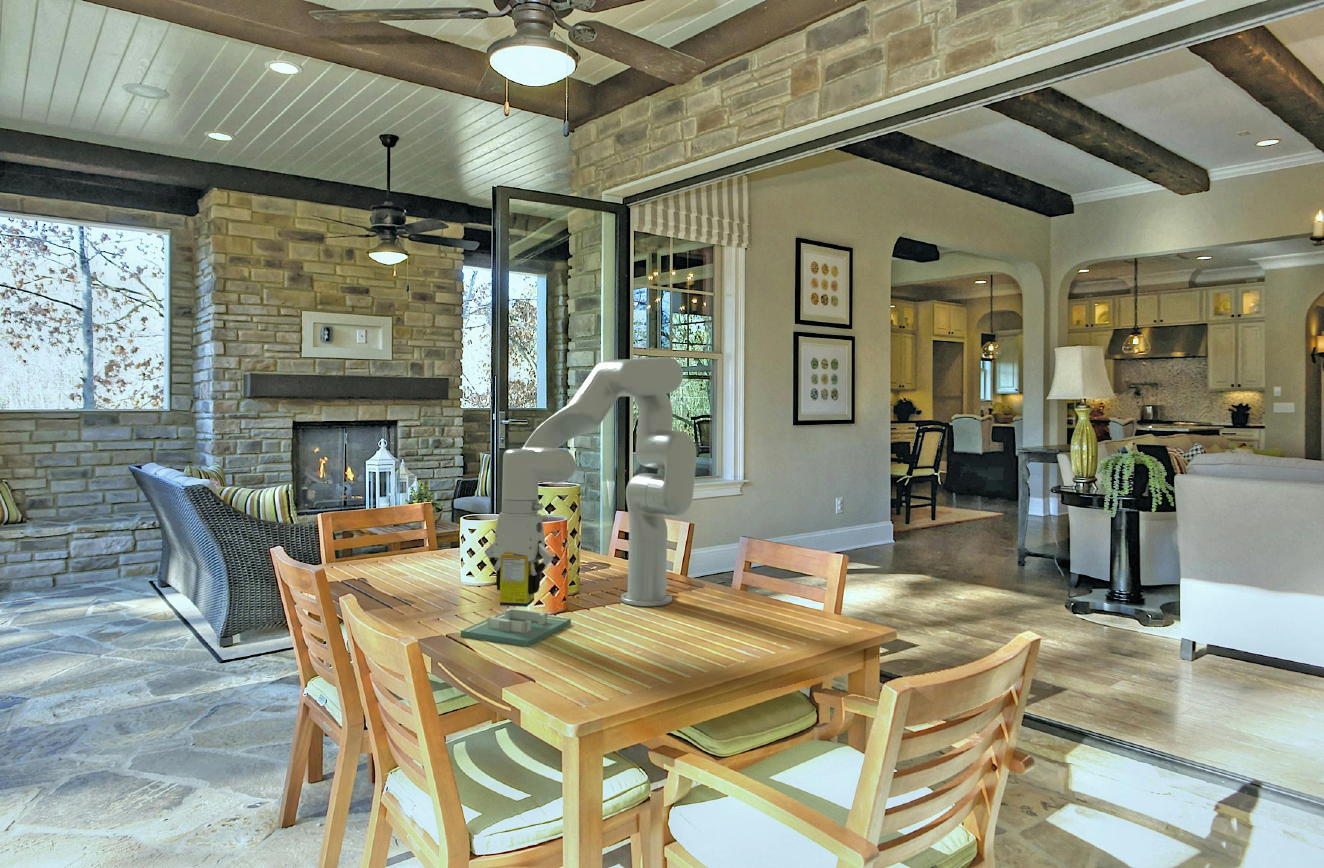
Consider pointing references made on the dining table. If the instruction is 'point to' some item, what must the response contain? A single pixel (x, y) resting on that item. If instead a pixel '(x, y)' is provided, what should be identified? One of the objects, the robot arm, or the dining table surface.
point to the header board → (516, 627)
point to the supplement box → (514, 580)
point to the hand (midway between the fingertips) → (517, 590)
